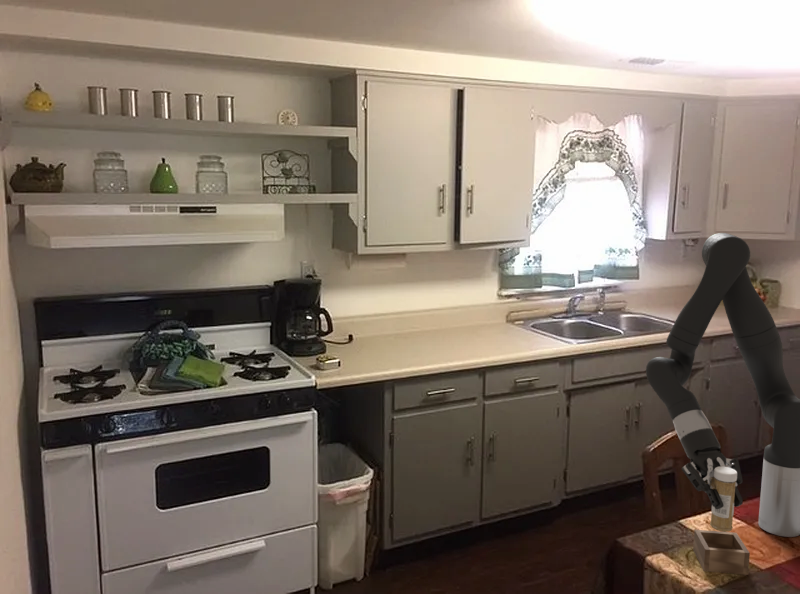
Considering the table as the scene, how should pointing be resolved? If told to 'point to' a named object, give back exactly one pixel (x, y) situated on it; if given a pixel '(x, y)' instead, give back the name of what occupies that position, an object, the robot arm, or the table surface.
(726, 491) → the sprinkles bottle
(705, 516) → the table surface
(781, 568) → the table surface
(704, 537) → the open square sleeve
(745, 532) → the table surface
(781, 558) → the table surface
